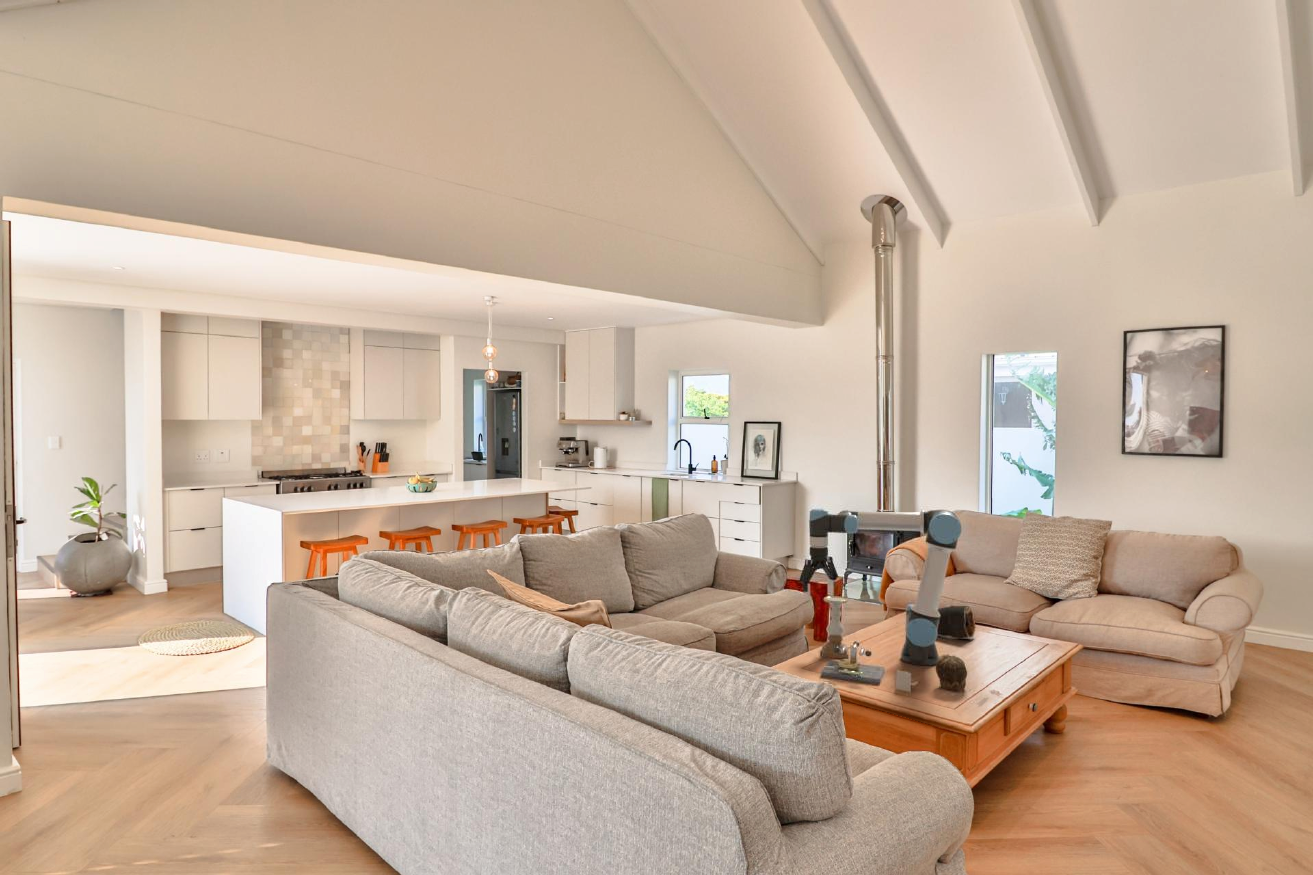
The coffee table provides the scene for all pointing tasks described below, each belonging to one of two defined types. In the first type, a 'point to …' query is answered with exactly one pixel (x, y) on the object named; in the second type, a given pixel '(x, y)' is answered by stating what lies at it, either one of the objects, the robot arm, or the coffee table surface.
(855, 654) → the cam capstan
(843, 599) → the candle holder
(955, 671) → the dark brown rounded lump
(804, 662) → the coffee table surface
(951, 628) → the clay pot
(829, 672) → the stand
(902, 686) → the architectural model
